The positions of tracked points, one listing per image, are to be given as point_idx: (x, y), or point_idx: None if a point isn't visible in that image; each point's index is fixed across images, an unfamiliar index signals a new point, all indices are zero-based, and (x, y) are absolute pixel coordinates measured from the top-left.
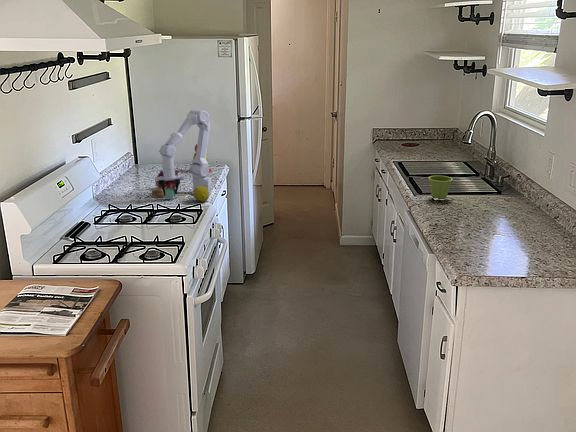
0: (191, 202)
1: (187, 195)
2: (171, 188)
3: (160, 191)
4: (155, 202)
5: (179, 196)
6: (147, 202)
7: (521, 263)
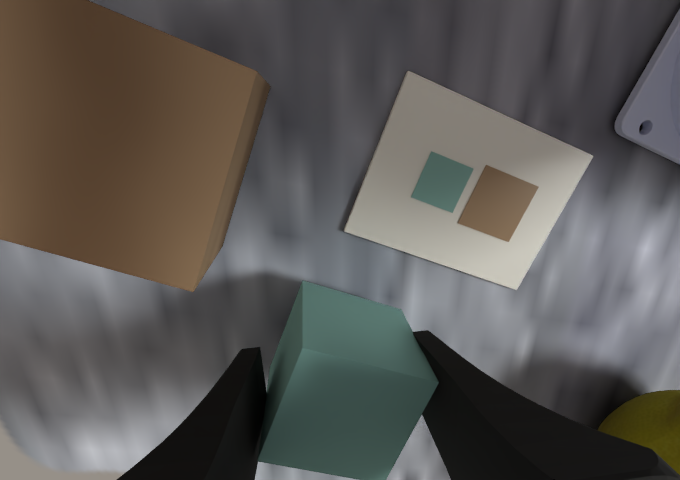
0: None
1: (548, 201)
2: (371, 371)
3: (162, 275)
4: (162, 421)
5: (444, 233)
6: (63, 413)
7: None
